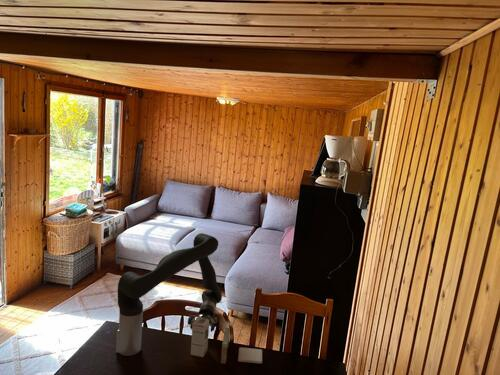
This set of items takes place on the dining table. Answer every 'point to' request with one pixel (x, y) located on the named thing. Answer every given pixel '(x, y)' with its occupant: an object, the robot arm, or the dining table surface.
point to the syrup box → (200, 336)
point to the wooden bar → (226, 337)
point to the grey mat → (250, 355)
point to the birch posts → (224, 353)
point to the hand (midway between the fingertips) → (201, 328)
